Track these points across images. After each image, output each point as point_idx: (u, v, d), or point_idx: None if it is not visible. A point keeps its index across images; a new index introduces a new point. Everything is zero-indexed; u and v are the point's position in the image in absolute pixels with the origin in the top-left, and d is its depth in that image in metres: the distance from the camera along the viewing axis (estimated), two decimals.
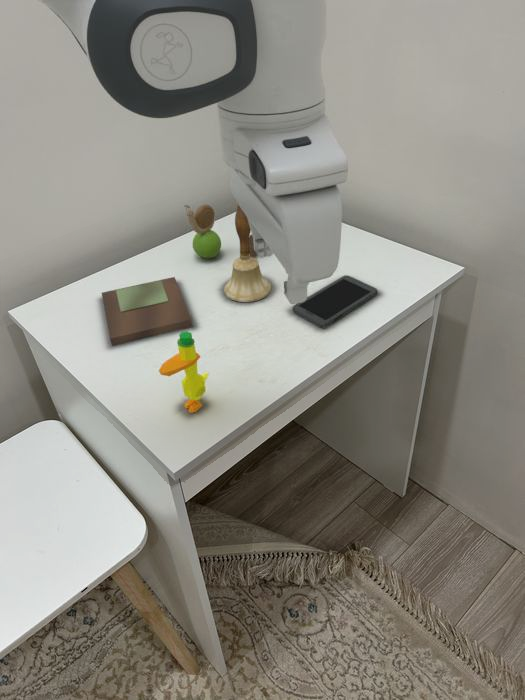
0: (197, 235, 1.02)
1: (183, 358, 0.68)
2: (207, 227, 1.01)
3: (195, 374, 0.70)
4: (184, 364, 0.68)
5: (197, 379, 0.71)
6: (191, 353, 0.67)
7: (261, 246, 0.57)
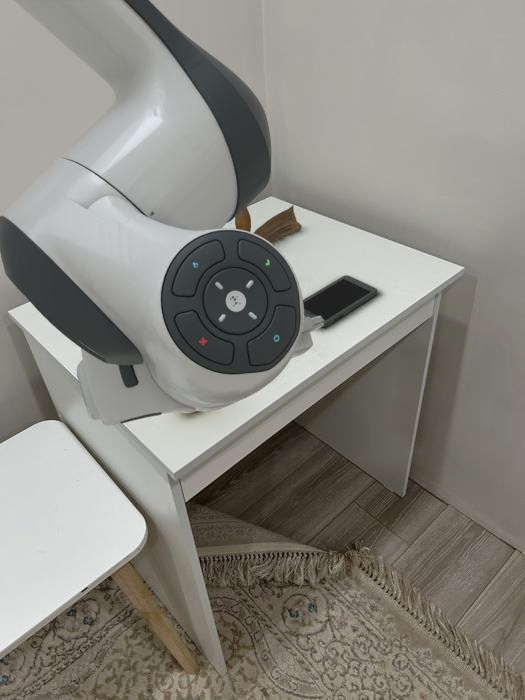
0: None
1: None
2: None
3: None
4: None
5: None
6: None
7: None
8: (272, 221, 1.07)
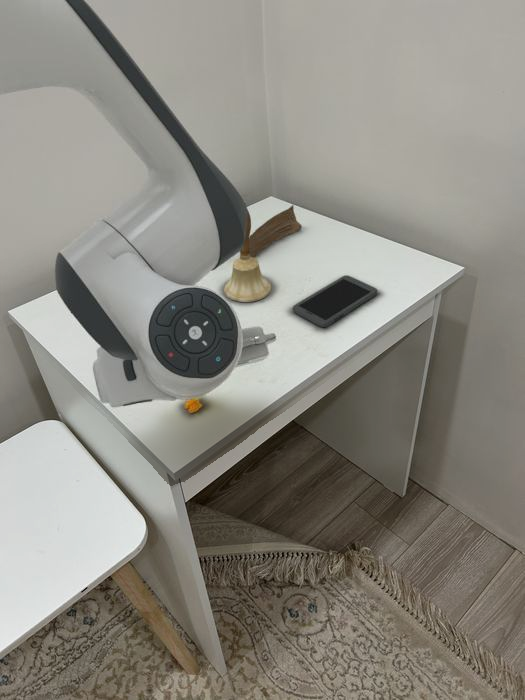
0: None
1: None
2: None
3: None
4: None
5: None
6: None
7: None
8: (272, 221, 1.07)
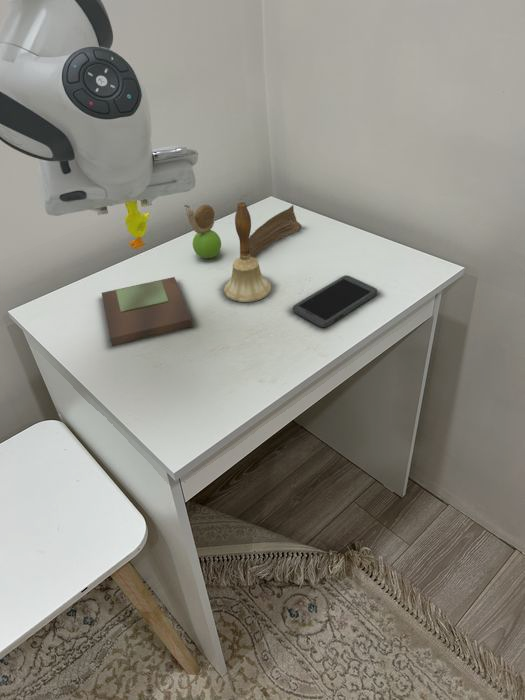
0: (197, 235, 1.02)
1: None
2: (207, 227, 1.01)
3: (135, 209, 0.79)
4: None
5: (138, 214, 0.80)
6: None
7: None
8: (272, 221, 1.07)
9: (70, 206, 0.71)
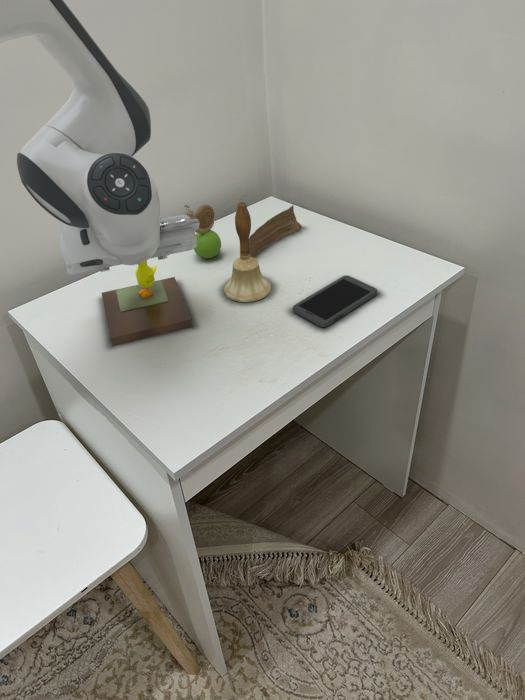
0: (197, 235, 1.02)
1: None
2: (207, 227, 1.01)
3: (145, 264, 0.90)
4: None
5: (147, 268, 0.90)
6: None
7: None
8: (272, 222, 1.07)
9: (87, 267, 0.81)
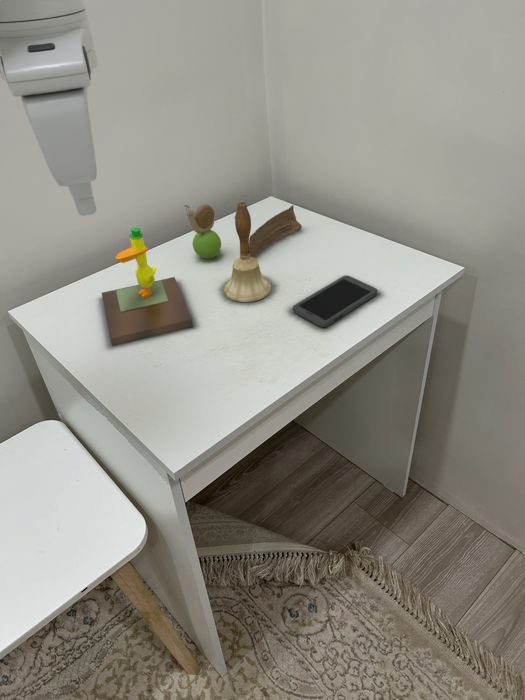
0: (197, 235, 1.02)
1: (134, 249, 0.87)
2: (207, 227, 1.01)
3: (145, 264, 0.90)
4: (135, 253, 0.87)
5: (147, 268, 0.90)
6: (140, 244, 0.87)
7: None
8: (272, 221, 1.07)
9: None
